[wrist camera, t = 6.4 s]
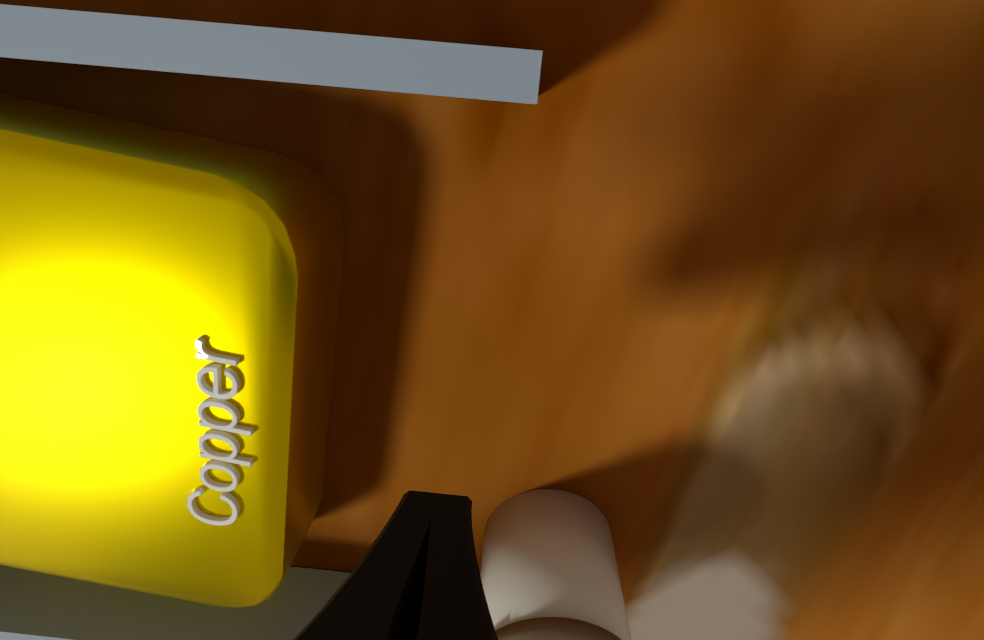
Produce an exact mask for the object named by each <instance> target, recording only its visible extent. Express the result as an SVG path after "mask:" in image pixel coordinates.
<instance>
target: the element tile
mask: <svg viewBox="0 0 984 640" xmlns="http://www.w3.org/2000/svg"><path fill="white" fill-rule="evenodd" d="M344 240H345V235H344V223H343V217H342V214H341V211H340V207H339V204H338V201H337V198H336V195H335V194H334V192H333V191H332V190H331V188H330V187H329V186H328V184H327V183H326V182H325V180H324V179H323V178H322V177H321V175H320V174H318V173H317V172H315V171H314V170H312V169H311V168H309V167H308V166H306V165H305V164H303V163H302V162H300V161H298V160H296V159H294V158H291V157H288V156H286V155H283V154H281V153H278V152H273V151H268V150H264V149H259V148H254V147H249V146H245V145H240V144H235V143H231V142H226V141H221V140H216V139H212V138H207V137H202V136H198V135H193V134H188V133H183V132H179V131H174V130H169V129H164V128H160V127H155V126H150V125H146V124H141V123H136V122H131V121H127V120H122V119H117V118H113V117H108V116H103V115H98V114H94V113H89V112H84V111H80V110H75V109H70V108H65V107H61V106H56V105H51V104H46V103H42V102H37V101H32V100H28V99H23V98H18V97H13V96H9V95H4V94H0V565H3V566H8V567H13V568H19V569H24V570H29V571H34V572H40V573H45V574H50V575H56V576H61V577H66V578H71V579H77V580H82V581H87V582H92V583H98V584H103V585H108V586H113V587H119V588H124V589H129V590H134V591H140V592H145V593H150V594H155V595H161V596H166V597H171V598H176V599H182V600H187V601H192V602H197V603H203V604H208V605H213V606H220V607H233V608H237V607H248V606H256V605H258V604H260V603H262V602H264V601H266V600H268V599H270V598H271V597H272V596H273V595H274V593H275V592H276V591H277V589H278V588H279V587H280V585H281V584H282V582H283V580H284V578H285V576H286V574H287V572H288V570H289V568H290V566H291V564H292V562H293V560H294V558H295V556H296V554H297V552H298V550H299V547H300V545H301V543H302V541H303V539H304V537H305V535H306V533H307V531H308V529H309V527H310V525H311V523H312V521H313V519H314V517H315V515H316V513H317V511H318V509H319V505H320V502H321V499H322V494H323V482H324V471H325V459H326V448H327V436H328V425H329V413H330V401H331V390H332V378H333V367H334V355H335V344H336V332H337V321H338V309H339V298H340V286H341V275H342V263H343V252H344Z"/></svg>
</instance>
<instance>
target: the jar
mask: <svg viewBox="0 0 984 640" xmlns="http://www.w3.org/2000/svg"><path fill="white" fill-rule="evenodd" d="M481 581H482V585H483V589H484V593H485V597H486V601H487V605H488V608H489V611H490V615H491V618H492V622H493V625H494V628H495V632H496V635H497V638H498V640H631V637H630V631H629V626H628V621H627V615H626V610H625V604H624V599H623V594H622V588H621V583H620V578H619V572H618V567H617V562H616V556H615V551H614V546H613V540H612V535H611V530H610V526H609V524H608V521H607V519H606V518H605V516H604V514H603V513H602V512H601V511H600V510H599V509H598V508H597V507H596V506H595V505H594V504H593V503H591V502H590V501H588V500H587V499H585V498H583V497H581V496H579V495H576V494H574V493H571V492H567V491H562V490H556V489H538V490H531V491H527V492H523V493H520V494H517V495H515V496H513V497H511V498H509V499H507V500H506V501H504V502H503V503H501V504H500V505H499V506H498V507H497V508H496V509H495V510H494V511H493V513H492V514H491V516H490V517H489V519H488V521H487V524H486V527H485V533H484V544H483V555H482V566H481Z"/></svg>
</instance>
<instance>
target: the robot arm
mask: <svg viewBox="0 0 984 640" xmlns="http://www.w3.org/2000/svg"><path fill="white" fill-rule="evenodd" d="M471 509H472V501H471V500H470V499H469V498H468V497H467V496H458V495H448V494H439V493H429V492H419V491H408V492H407V493H405V494H404V495H403V497H402V499H401V501H400V503H399V505H398V506H397V508H396V510H395V511H394V513H393V515H392V516H391V518H390V519H389V521H388V522H387V524H386V526H385V527H384V529H383V530H382V531H381V533H380V534H379V536H378V537H377V539H376V540H375V542H374V543H373V544H372V546H371V547H370V548H369V550H368V551H367V553H366V554H365V555H364V557H363V558H362V559H361V561H360V562H359V563H358V565H357V566H356V567H355V569H354V570H353V571H352V573H351V574H350V575H349V576H348V578H347V579H346V580H345V581H344V582H343V584H342V585H341V586H340V587H339V588H338V590H337V591H336V592H335V593H334V594H333V596H332V597H331V598H330V599H329V600H328V602H327V603H326V604H325V605H324V606H323V608H322V609H321V610H320V611H319V612H318V613H317V614H316V616H315V617H314V618H313V619H312V620H311V621H310V622H309V623H308V624H307V625H306V627H305V628H304V629H303V630H302V631H301V632H300V633H299V634H298V635H297V636H296V637H295V638H294V639H293V640H498V638H497V635H496V632H495V628H494V625H493V622H492V618H491V615H490V611H489V608H488V605H487V601H486V597H485V593H484V589H483V585H482V581H481V576H480V572H479V567H478V563H477V558H476V552H475V546H474V539H473V531H472V519H471Z"/></svg>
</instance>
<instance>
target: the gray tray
mask: <svg viewBox="0 0 984 640" xmlns="http://www.w3.org/2000/svg"><path fill="white" fill-rule="evenodd" d="M542 53H543V51H541V50H529V49H517V48H506V47H494V46H482V45H471V44H459V43H447V42H436V41H424V40H413V39H401V38H389V37H378V36H366V35H354V34H343V33H331V32H319V31H308V30H296V29H284V28H273V27H261V26H250V25H238V24H226V23H215V22H203V21H191V20H180V19H168V18H156V17H145V16H133V15H122V14H110V13H98V12H87V11H75V10H63V9H52V8H40V7H28V6H17V5H5V4H0V57H5V58H17V59H28V60H39V61H51V62H62V63H74V64H85V65H96V66H108V67H119V68H130V69H142V70H153V71H164V72H176V73H187V74H198V75H210V76H221V77H232V78H244V79H255V80H266V81H278V82H289V83H301V84H312V85H323V86H335V87H346V88H357V89H369V90H380V91H391V92H403V93H414V94H425V95H437V96H448V97H459V98H471V99H482V100H493V101H505V102H516V103H528V104H537V100H538V91H539V81H540V72H541V62H542ZM350 574H351V573H348V572H339V571H329V570H320V569H311V568H302V567H292V566H290V568H289V570H288V572H287V574H286V576H285V578H284V580H283V582H282V584H281V585H280V587H279V588H278V589H277V591H276V592H275V593H274V595H273V596H272V597H271V598H270V599H268V600H266V601H264V602H262V603H260V604H258V605H256V606H248V607H237V608H233V607H220V606H213V605H208V604H203V603H197V602H192V601H187V600H182V599H176V598H171V597H166V596H161V595H155V594H150V593H145V592H140V591H134V590H129V589H124V588H119V587H113V586H108V585H103V584H98V583H92V582H87V581H82V580H77V579H71V578H66V577H61V576H56V575H50V574H45V573H40V572H34V571H29V570H24V569H19V568H13V567H8V566H3V565H0V640H293V639H294V638H295V637H296V636H297V635H298V634H299V633H300V632H301V631H302V630H303V629H304V628H305V627H306V625H307V624H308V623H309V622H310V621H311V620H312V619H313V618H314V617H315V616H316V614H317V613H318V612H319V611H320V610H321V609H322V608H323V606H324V605H325V604H326V603H327V602H328V600H329V599H330V598H331V597H332V596H333V594H334V593H335V592H336V591H337V590H338V588H339V587H340V586H341V585H342V584H343V582H344V581H345V580H346V579H347V578H348V576H349V575H350Z"/></svg>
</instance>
